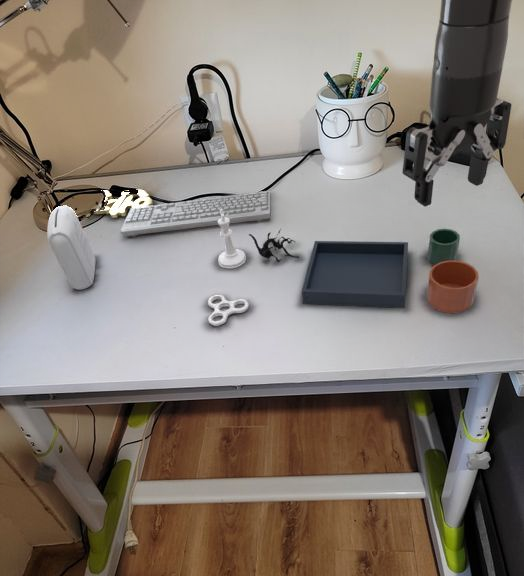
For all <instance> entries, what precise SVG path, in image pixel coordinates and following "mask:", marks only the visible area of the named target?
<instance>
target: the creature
mask: <svg viewBox="0 0 524 576" xmlns="http://www.w3.org/2000/svg"><path fill="white" fill-rule="evenodd" d="M281 230H282V228H280V229H279V230H278V232H277V235H276V236H275V237H272V238H271V237H270V235H271V232H268V233H267V239H266V240H265V241H264V243H263V244H262V247H260V246H259V244H258V241H257V239H256V237H255V236H254V235H252V234H251V233H249V234H248V236H250V237H251V238H252V240H253V242H254V245H255V247H256V249H257V251H258V254H259V255H260V256H261V257H262V258H265V259H267V260H269V259H270V258H271V257H274V259H275V261H276V262H277V263H280V261H282V258H280V259H278V256H276V255H275V254H273V252H272V249H273V248H274V251H277V250H281V249H282V250H283V252H284V253H285V254H284V258H285V257H290V258H291V257H292V258H293V259H294V258H295V259H300V256H298V255H297V256H295V255H292V254H290V253H289V252H288V250H287V249H286V247H284V243H285V242H287V244H289V245H290V244H291V243H292V242H294V243H297V242H296V241H295V240H293V239H291V237H287V238H285V237H284V236H281V237H280V238H278V235H280V234H281ZM277 238H278V240H277V241H276V239H277ZM280 239H282V240H281V241H280ZM270 243H272V245H273V246H270V247H269V244H270Z"/></svg>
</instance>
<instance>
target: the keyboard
mask: <svg viewBox="0 0 524 576" xmlns="http://www.w3.org/2000/svg"><path fill="white" fill-rule="evenodd" d="M220 209H223V213H224V216H225V217H227V218H229V219H230V223H229V224H235V223H242V222H243V223H244V222H249V221H250V222H251V221H252V222H253V221H256V223H258V222H259V223H260V222H263V220H267V219H270V217H271V191H270V190H264V191H258V192H257V191H254V192H246V193H239V194H231V195H223V196H215V197H214V196H213V197H208V198H201V199H199V198H198V199H193V200H192V199H191V200H186V201H177V202H169V203H163V204H162V203H161V204H157V205H154V204H153V205H151V206H144V207H143V208H142V207H137V209H136V208H131V209H129V210H128V211H129V212H128V214H126V218H125V220H124V222H123V224H122V226H121V228H120V230H119V232H120V234H121V236H122V237H129V236H131V238H136V237H138V235H145V234H153V233H161V232H169V231H170V232H171V231H177V230H178V231H179V230H185V229H195V228H202V227H210V226H219V224H218V220H219V219H220V218H221V214H220Z"/></svg>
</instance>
